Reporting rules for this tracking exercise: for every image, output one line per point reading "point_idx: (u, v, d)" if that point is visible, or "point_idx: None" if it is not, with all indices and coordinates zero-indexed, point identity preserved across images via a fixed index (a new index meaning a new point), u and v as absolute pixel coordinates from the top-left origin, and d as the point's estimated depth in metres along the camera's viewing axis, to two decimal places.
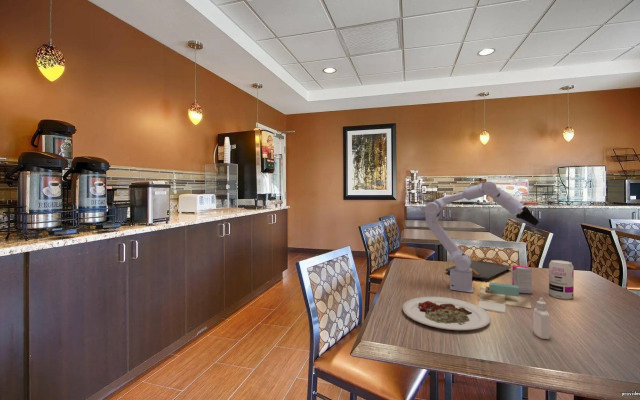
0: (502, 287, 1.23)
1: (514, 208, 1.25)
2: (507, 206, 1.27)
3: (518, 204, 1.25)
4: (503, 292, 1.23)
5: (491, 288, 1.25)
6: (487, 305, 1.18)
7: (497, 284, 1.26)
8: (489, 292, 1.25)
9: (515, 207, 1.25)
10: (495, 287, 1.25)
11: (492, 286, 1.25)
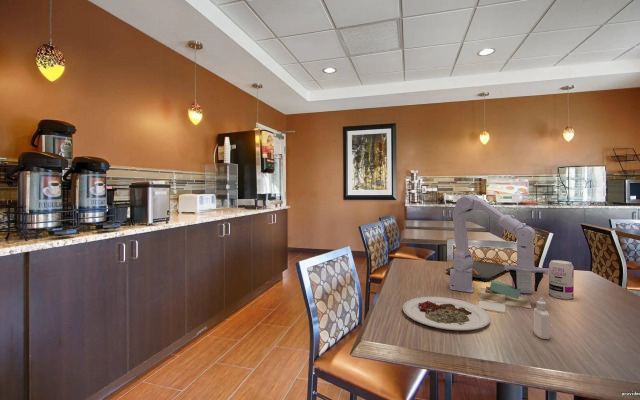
0: (504, 287, 1.23)
1: (517, 264, 1.22)
2: None
3: (519, 266, 1.20)
4: (504, 292, 1.23)
5: (492, 286, 1.25)
6: (487, 305, 1.18)
7: (499, 283, 1.25)
8: (489, 292, 1.25)
9: (517, 265, 1.22)
10: (497, 286, 1.24)
11: (494, 284, 1.25)
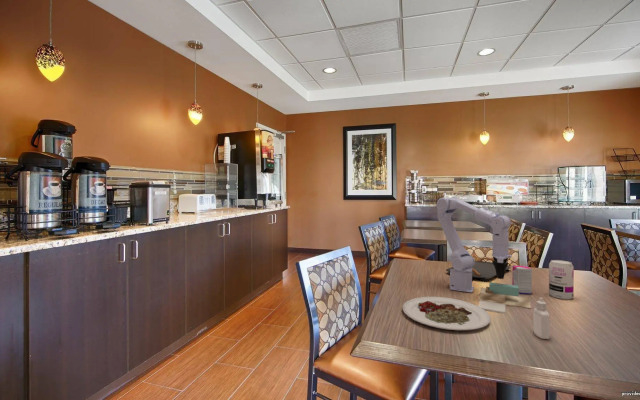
0: (502, 287, 1.23)
1: (499, 254, 1.23)
2: (496, 248, 1.24)
3: (505, 254, 1.22)
4: (503, 292, 1.23)
5: (491, 288, 1.25)
6: (487, 305, 1.18)
7: (497, 284, 1.26)
8: (489, 292, 1.25)
9: (500, 254, 1.23)
10: (495, 287, 1.25)
11: (492, 286, 1.25)
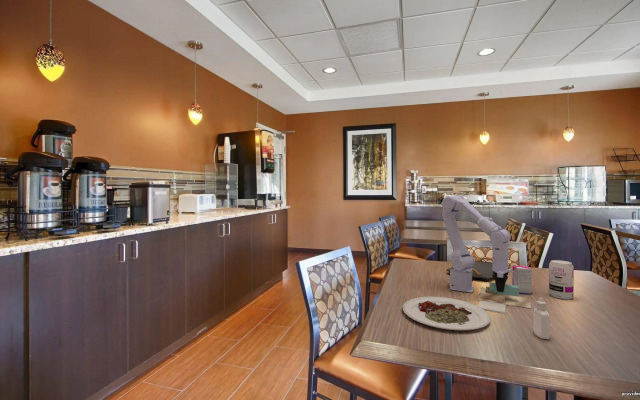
0: None
1: (498, 268, 1.23)
2: (496, 262, 1.24)
3: (505, 268, 1.22)
4: (503, 292, 1.23)
5: (491, 288, 1.25)
6: (487, 305, 1.18)
7: None
8: (489, 292, 1.25)
9: (500, 268, 1.23)
10: (495, 287, 1.25)
11: (492, 286, 1.25)
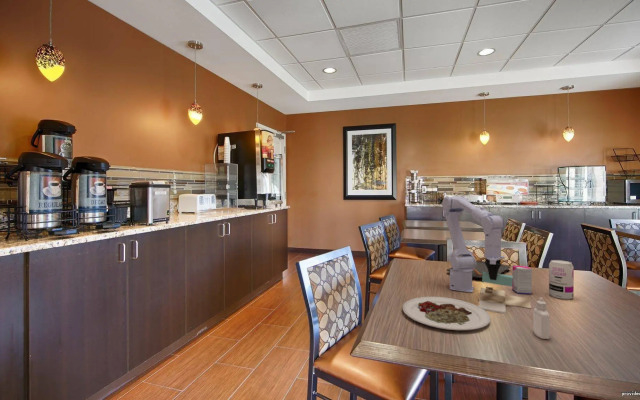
0: None
1: (491, 255, 1.19)
2: (488, 249, 1.20)
3: (497, 255, 1.18)
4: (496, 282, 1.19)
5: (484, 277, 1.21)
6: (487, 305, 1.18)
7: None
8: (489, 292, 1.25)
9: (493, 255, 1.19)
10: (488, 276, 1.20)
11: (485, 275, 1.21)
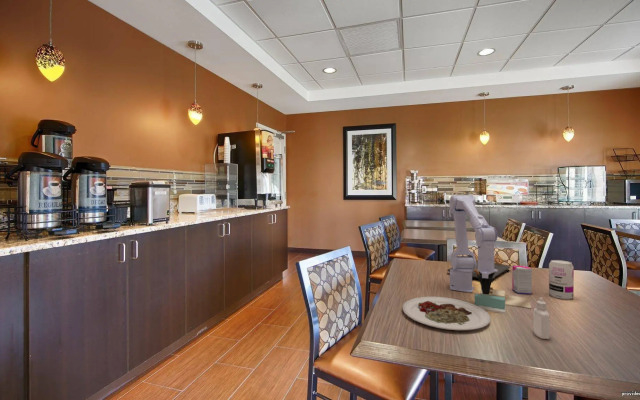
0: (488, 299, 1.16)
1: (484, 268, 1.16)
2: (481, 262, 1.16)
3: (490, 268, 1.15)
4: (489, 304, 1.16)
5: (476, 300, 1.18)
6: None
7: (483, 295, 1.18)
8: (489, 292, 1.25)
9: (485, 268, 1.15)
10: (480, 299, 1.18)
11: (477, 298, 1.18)
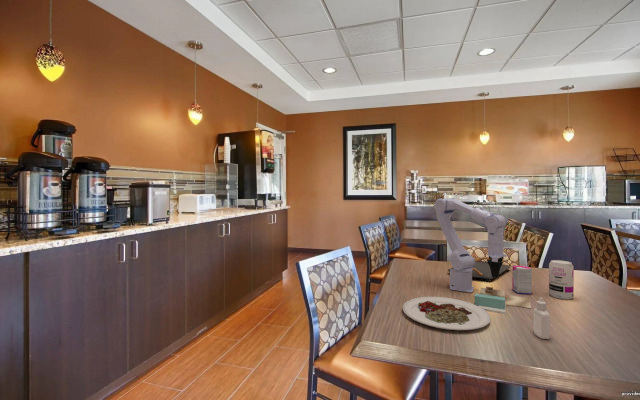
0: (488, 299, 1.16)
1: (494, 253, 1.23)
2: (491, 247, 1.24)
3: (500, 253, 1.23)
4: (489, 304, 1.16)
5: (476, 300, 1.18)
6: None
7: (483, 295, 1.18)
8: (489, 292, 1.25)
9: (495, 253, 1.23)
10: (480, 299, 1.18)
11: (477, 298, 1.18)
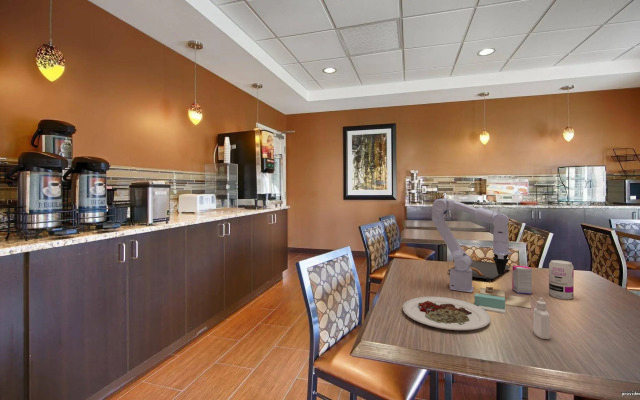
0: (488, 299, 1.16)
1: (499, 250, 1.28)
2: (496, 245, 1.29)
3: (505, 251, 1.27)
4: (489, 304, 1.16)
5: (476, 300, 1.18)
6: None
7: (483, 295, 1.18)
8: (489, 292, 1.25)
9: (501, 251, 1.28)
10: (480, 299, 1.18)
11: (477, 298, 1.18)
